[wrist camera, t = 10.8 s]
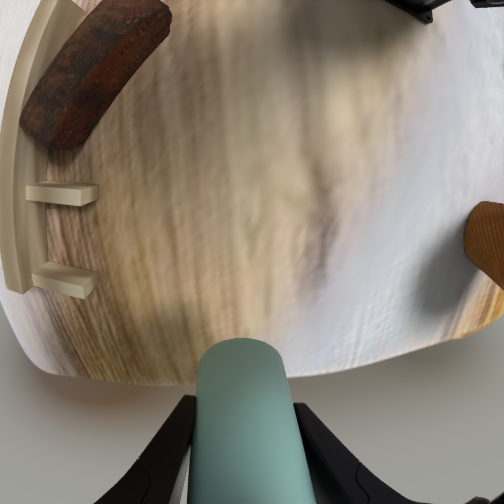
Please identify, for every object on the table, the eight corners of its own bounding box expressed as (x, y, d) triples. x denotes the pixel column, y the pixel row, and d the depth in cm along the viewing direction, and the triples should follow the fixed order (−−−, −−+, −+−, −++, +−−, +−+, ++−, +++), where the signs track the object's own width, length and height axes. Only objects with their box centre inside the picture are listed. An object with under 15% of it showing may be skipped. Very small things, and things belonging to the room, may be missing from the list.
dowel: (292, 342, 10) (352, 540, 3) (272, 398, 11) (300, 556, 4) (202, 332, 10) (183, 554, 2) (196, 391, 11) (186, 559, 3)
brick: (84, 150, 15) (46, 152, 11) (52, 125, 14) (13, 123, 10) (179, 28, 13) (165, -5, 9) (140, 9, 12) (119, -22, 7)
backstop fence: (141, 3, 11) (124, -23, 8) (98, 283, 18) (75, 310, 15) (66, 16, 11) (41, -1, 7) (33, 268, 18) (6, 288, 14)
